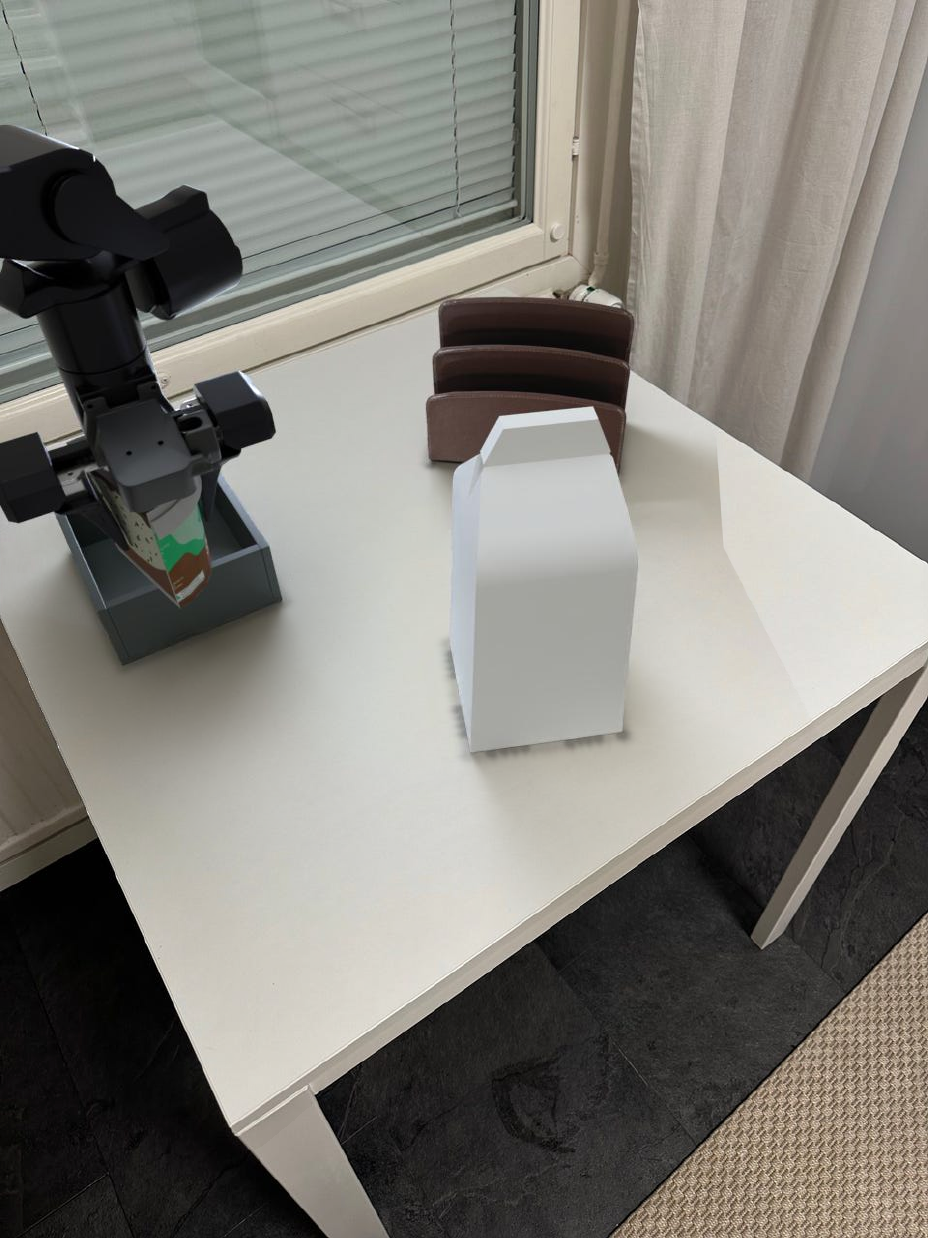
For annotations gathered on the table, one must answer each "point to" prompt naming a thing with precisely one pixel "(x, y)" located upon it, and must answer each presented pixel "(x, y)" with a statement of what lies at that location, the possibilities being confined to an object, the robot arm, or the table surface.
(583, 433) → the milk
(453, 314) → the letter holder
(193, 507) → the cake slice
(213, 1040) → the table surface
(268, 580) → the storage box
